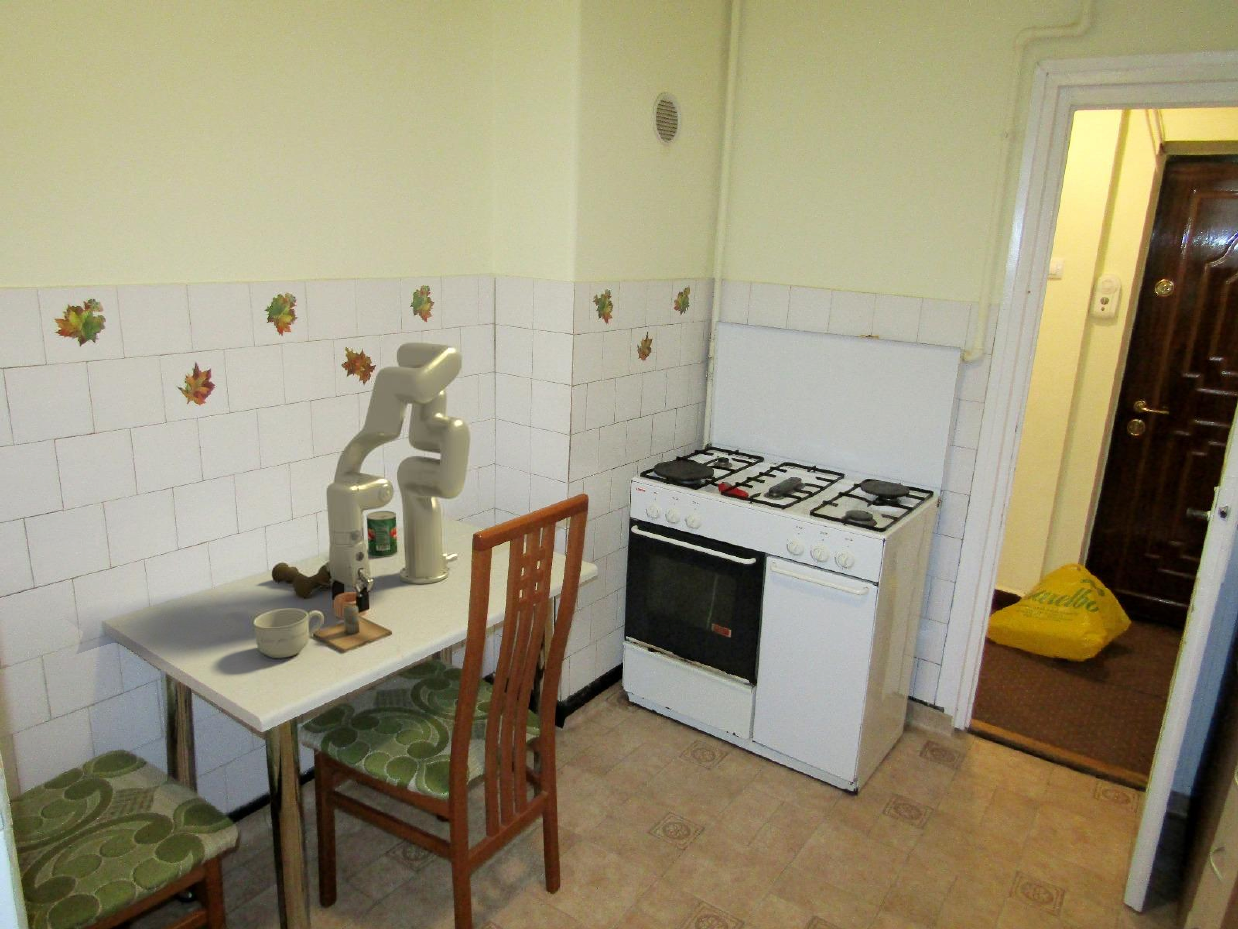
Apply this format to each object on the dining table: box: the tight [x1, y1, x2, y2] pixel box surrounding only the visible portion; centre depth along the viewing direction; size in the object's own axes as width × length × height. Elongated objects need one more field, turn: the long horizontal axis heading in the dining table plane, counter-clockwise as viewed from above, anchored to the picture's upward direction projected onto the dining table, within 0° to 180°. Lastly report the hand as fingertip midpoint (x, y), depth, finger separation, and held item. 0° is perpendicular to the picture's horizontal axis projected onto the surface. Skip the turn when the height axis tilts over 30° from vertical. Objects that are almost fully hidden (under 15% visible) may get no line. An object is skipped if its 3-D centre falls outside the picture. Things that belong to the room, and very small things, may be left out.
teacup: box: [252, 608, 325, 659], centre depth 186 cm, size 14×11×8 cm
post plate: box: [312, 606, 393, 654], centre depth 194 cm, size 12×12×6 cm
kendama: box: [271, 562, 331, 599], centre depth 219 cm, size 6×10×20 cm
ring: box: [333, 591, 368, 619], centre depth 206 cm, size 7×7×4 cm
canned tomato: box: [365, 510, 399, 558], centre depth 244 cm, size 8×8×11 cm
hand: (350, 605), depth 206 cm, fingers open, 9 cm apart
